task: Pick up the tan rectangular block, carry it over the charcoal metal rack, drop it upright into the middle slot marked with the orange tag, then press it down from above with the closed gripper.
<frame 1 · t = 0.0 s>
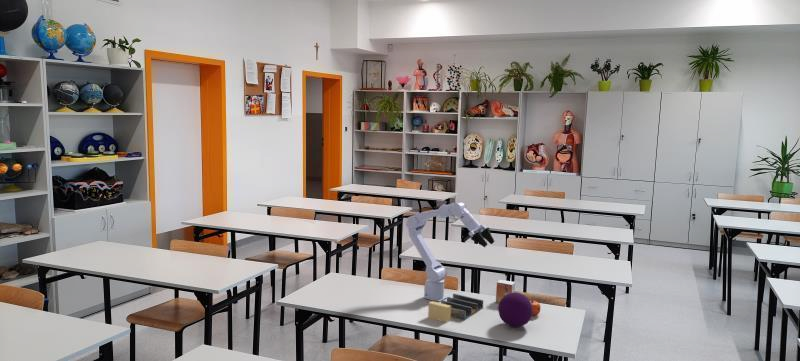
hand: (489, 244, 269), 32 cm above the table, tool tilted 50°, fingers open, 7 cm apart
rack: (458, 310, 273), on the table
toy ball: (514, 326, 255), on the table
tan rectangular block: (439, 319, 262), on the table
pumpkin: (531, 315, 269), on the table
small box: (504, 302, 285), on the table
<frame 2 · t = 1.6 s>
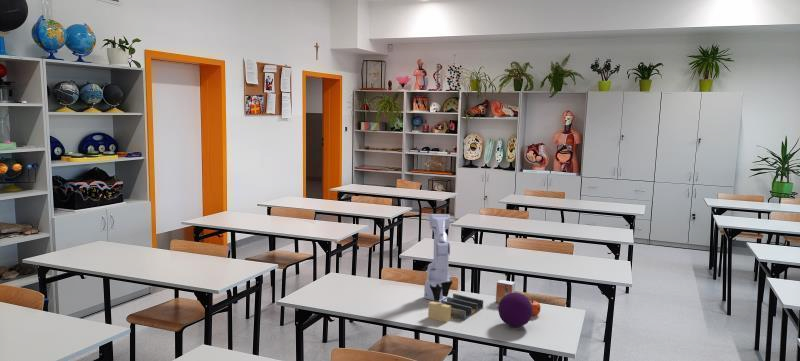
hand: (440, 298, 260), 10 cm above the table, tool pointing down, fingers open, 7 cm apart
nothing on the table moved.
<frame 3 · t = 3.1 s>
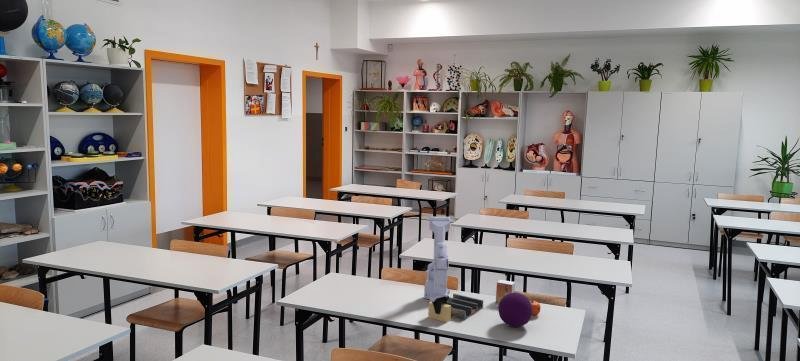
hand: (439, 312, 261), 3 cm above the table, tool pointing down, fingers closed on tan rectangular block, 3 cm apart
tan rectangular block: (439, 318, 261), on the table, touching gripper
everything else where it was.
when the fingers open (5 cm above the table, at t = 6.4 s): tan rectangular block stays where it is, resting on rack.
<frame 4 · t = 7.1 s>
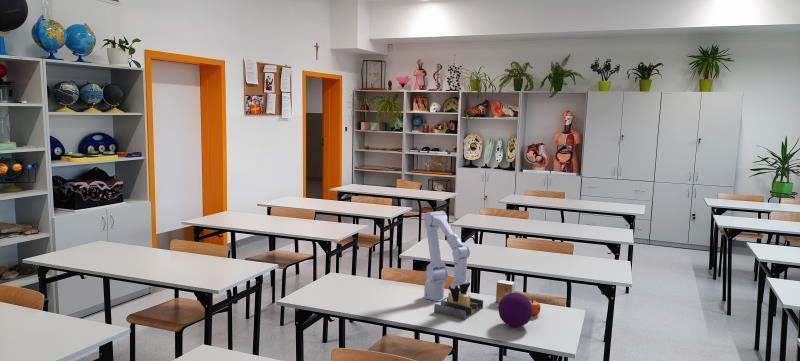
hand: (459, 299, 272), 5 cm above the table, tool pointing down, fingers open, 7 cm apart
tan rectangular block: (458, 308, 273), point 1 cm above the table, touching rack
everything else where it was.
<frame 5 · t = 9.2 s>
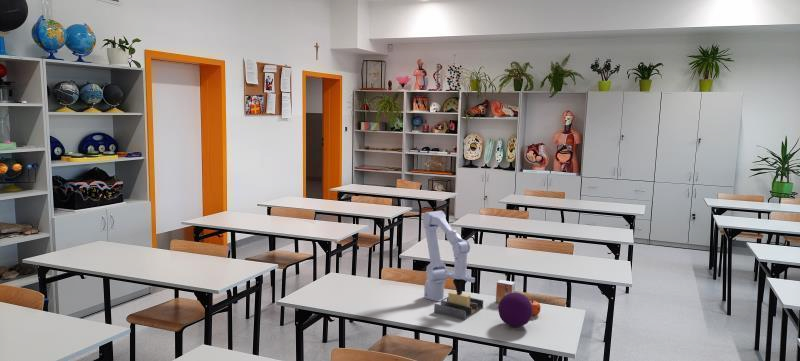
hand: (459, 294, 272), 8 cm above the table, tool pointing down, fingers closed, pressing on tan rectangular block
tan rectangular block: (458, 308, 273), point 1 cm above the table, touching gripper, rack
everything else where it was.
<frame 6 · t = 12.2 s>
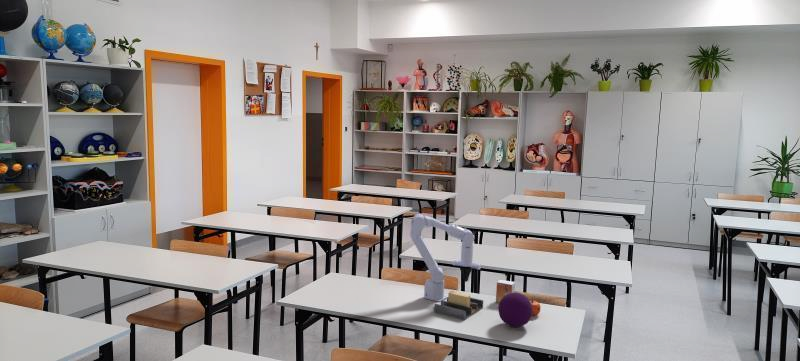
hand: (465, 281, 287), 9 cm above the table, tool pointing down, fingers closed
tan rectangular block: (458, 308, 273), point 1 cm above the table, touching rack
everything else where it was.
at the end: tan rectangular block 0.1 cm off-centre on the rack, point 1.0 cm above the rack's base; tan rectangular block tilted 0°; the gripper is holding nothing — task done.
